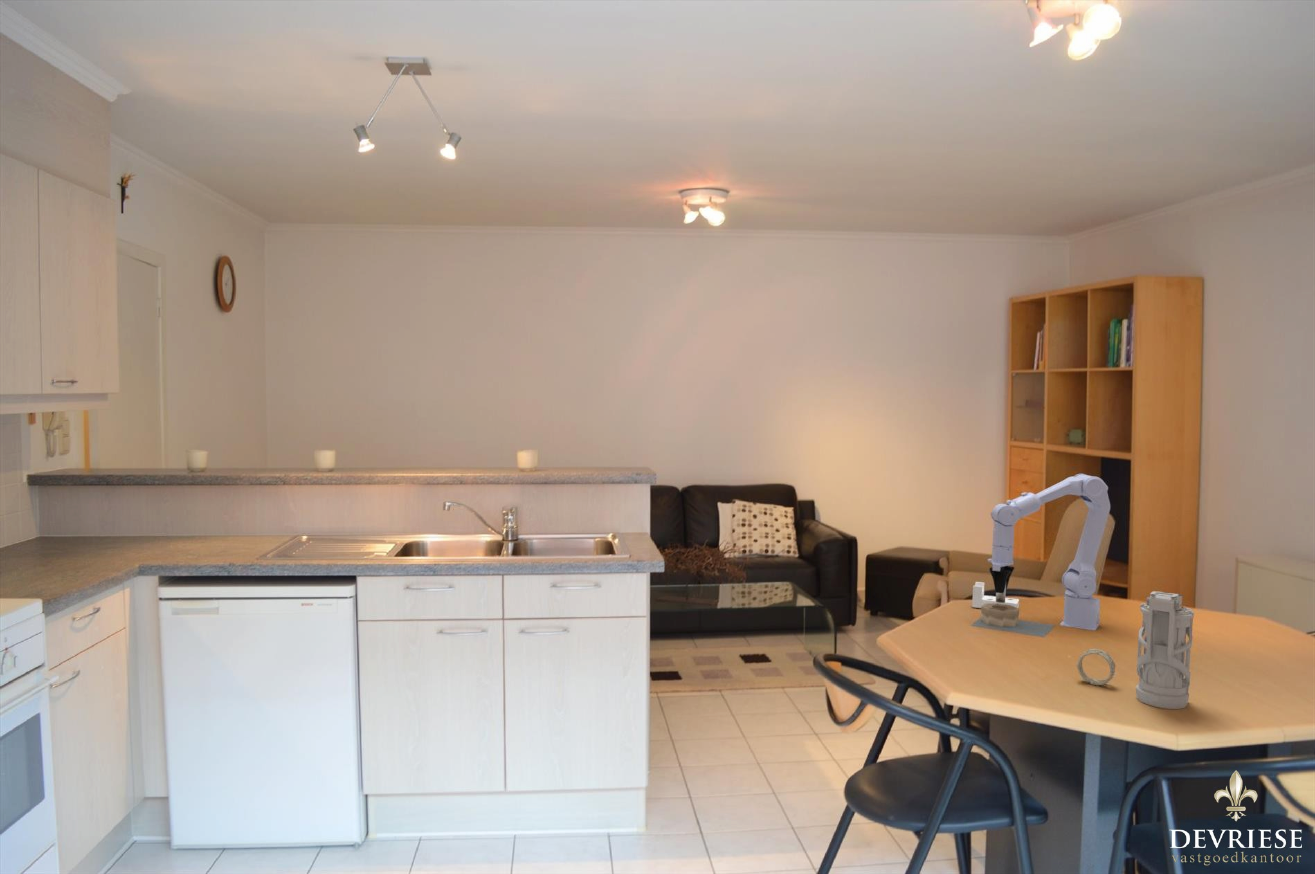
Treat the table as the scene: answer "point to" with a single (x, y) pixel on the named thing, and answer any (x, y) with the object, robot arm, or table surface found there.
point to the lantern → (1164, 651)
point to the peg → (1001, 596)
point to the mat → (1020, 627)
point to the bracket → (988, 597)
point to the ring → (999, 615)
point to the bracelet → (1105, 656)
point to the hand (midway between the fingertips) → (1000, 591)
